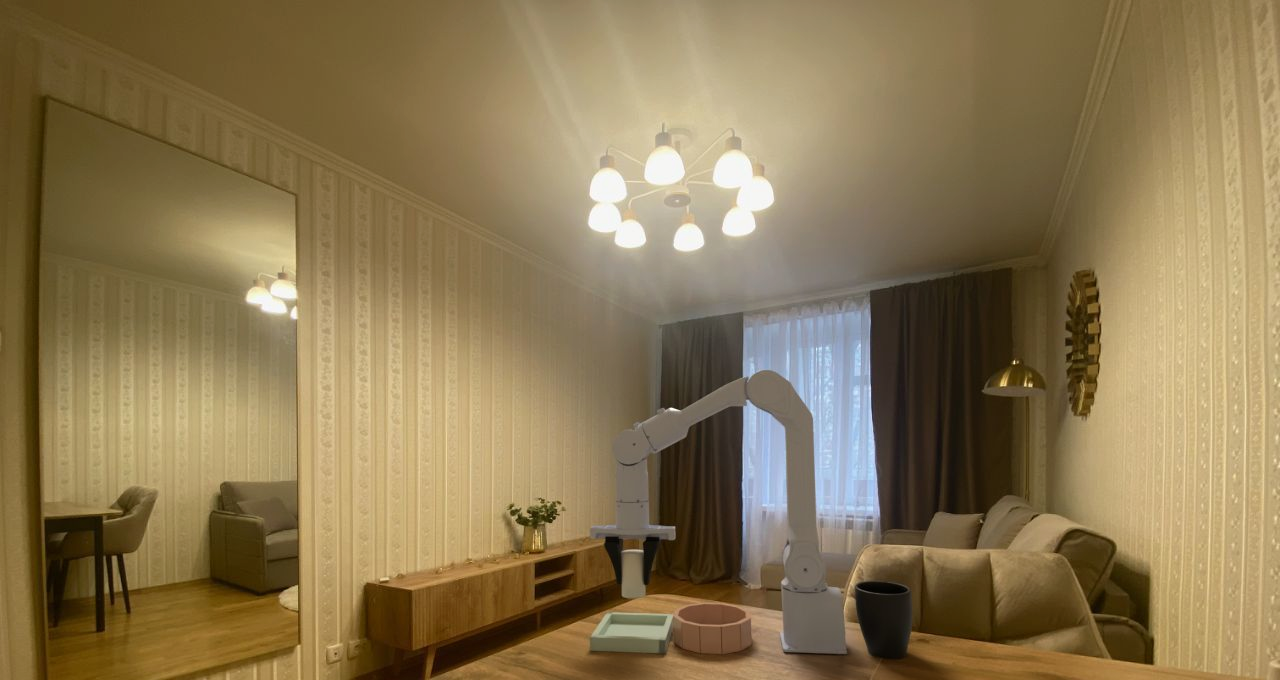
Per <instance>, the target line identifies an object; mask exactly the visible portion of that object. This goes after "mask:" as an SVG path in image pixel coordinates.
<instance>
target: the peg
mask: <svg viewBox="0 0 1280 680" xmlns="http://www.w3.org/2000/svg"><path fill="white" fill-rule="evenodd" d="M621 570H622V584H621V596H622V598H626V599H640V598H644V597H646V585H644V551H643V549H626V550H625V549H623V551H622V552H621Z"/></svg>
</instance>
